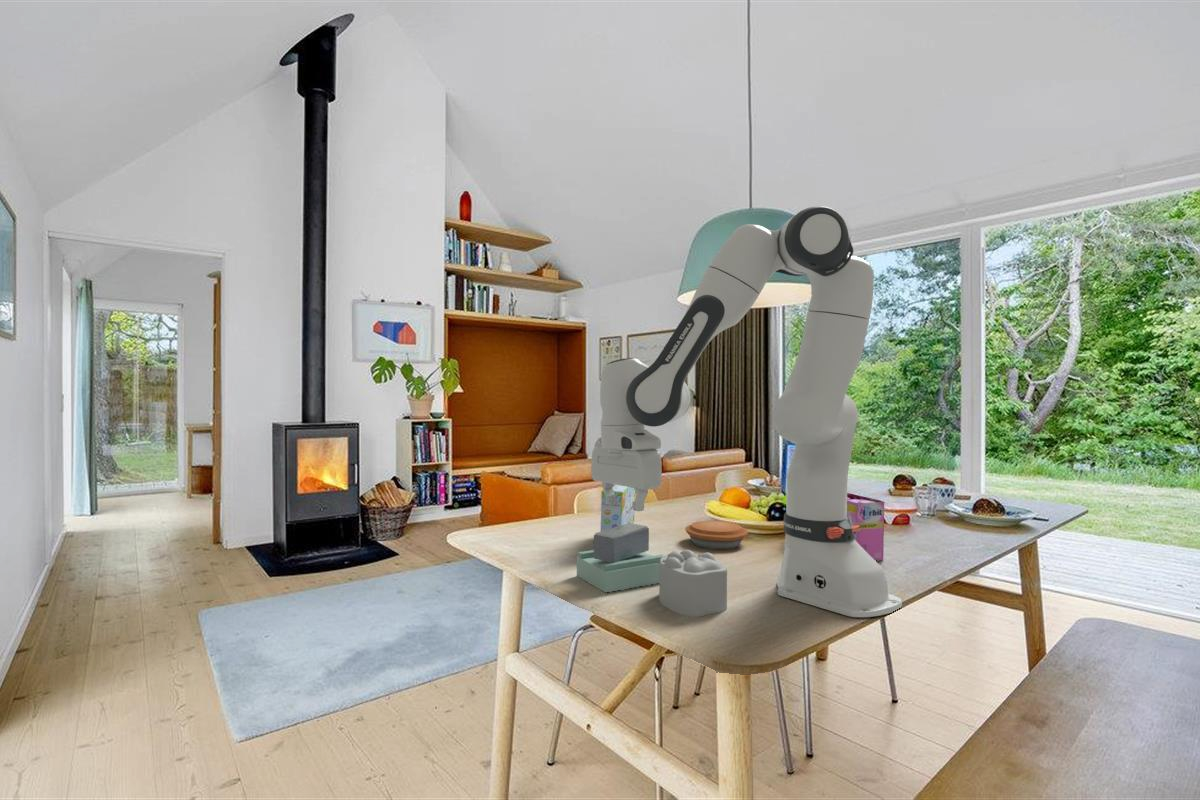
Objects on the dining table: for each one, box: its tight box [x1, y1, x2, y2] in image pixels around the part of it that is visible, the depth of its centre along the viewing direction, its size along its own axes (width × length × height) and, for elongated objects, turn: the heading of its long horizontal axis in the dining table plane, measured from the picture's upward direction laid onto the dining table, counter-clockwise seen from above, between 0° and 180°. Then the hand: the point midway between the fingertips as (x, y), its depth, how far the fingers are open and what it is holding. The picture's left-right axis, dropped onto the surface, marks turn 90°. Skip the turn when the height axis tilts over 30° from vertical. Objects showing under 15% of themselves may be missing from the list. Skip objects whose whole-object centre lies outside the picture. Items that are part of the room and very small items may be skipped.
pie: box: [684, 520, 749, 550], centre depth 150 cm, size 15×16×5 cm
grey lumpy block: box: [658, 549, 728, 618], centre depth 108 cm, size 10×13×9 cm
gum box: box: [847, 492, 885, 561], centre depth 146 cm, size 24×8×14 cm, turn 17°
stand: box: [576, 549, 664, 594], centre depth 121 cm, size 12×14×5 cm
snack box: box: [599, 484, 636, 532], centre depth 148 cm, size 21×6×15 cm, turn 168°
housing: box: [593, 523, 650, 563], centre depth 121 cm, size 12×5×5 cm, turn 142°
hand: (624, 507), depth 120 cm, fingers open, 8 cm apart
